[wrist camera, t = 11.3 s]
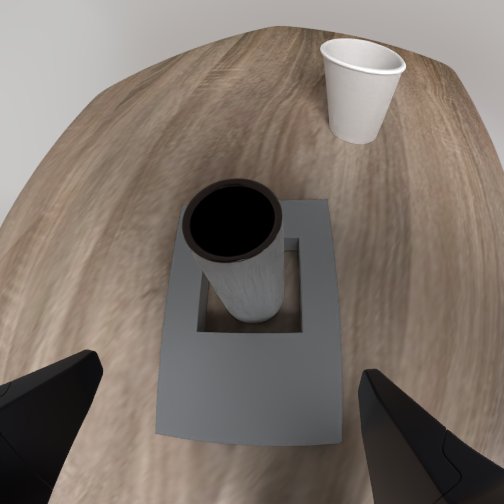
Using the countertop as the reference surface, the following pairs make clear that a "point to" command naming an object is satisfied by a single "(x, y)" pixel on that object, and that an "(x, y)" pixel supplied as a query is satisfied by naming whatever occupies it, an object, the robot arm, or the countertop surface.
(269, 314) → the gray tube
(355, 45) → the dixie cup
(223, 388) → the socket board
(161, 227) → the countertop surface
